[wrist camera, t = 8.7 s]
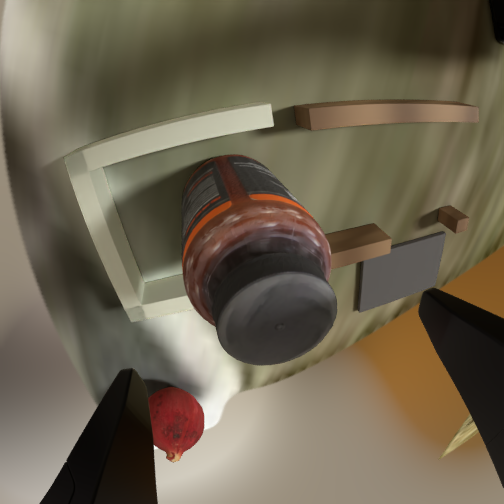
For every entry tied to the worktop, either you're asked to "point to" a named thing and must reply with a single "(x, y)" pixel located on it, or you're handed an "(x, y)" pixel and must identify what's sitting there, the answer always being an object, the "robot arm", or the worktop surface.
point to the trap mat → (400, 271)
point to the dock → (105, 213)
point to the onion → (175, 421)
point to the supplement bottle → (255, 262)
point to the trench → (380, 112)
